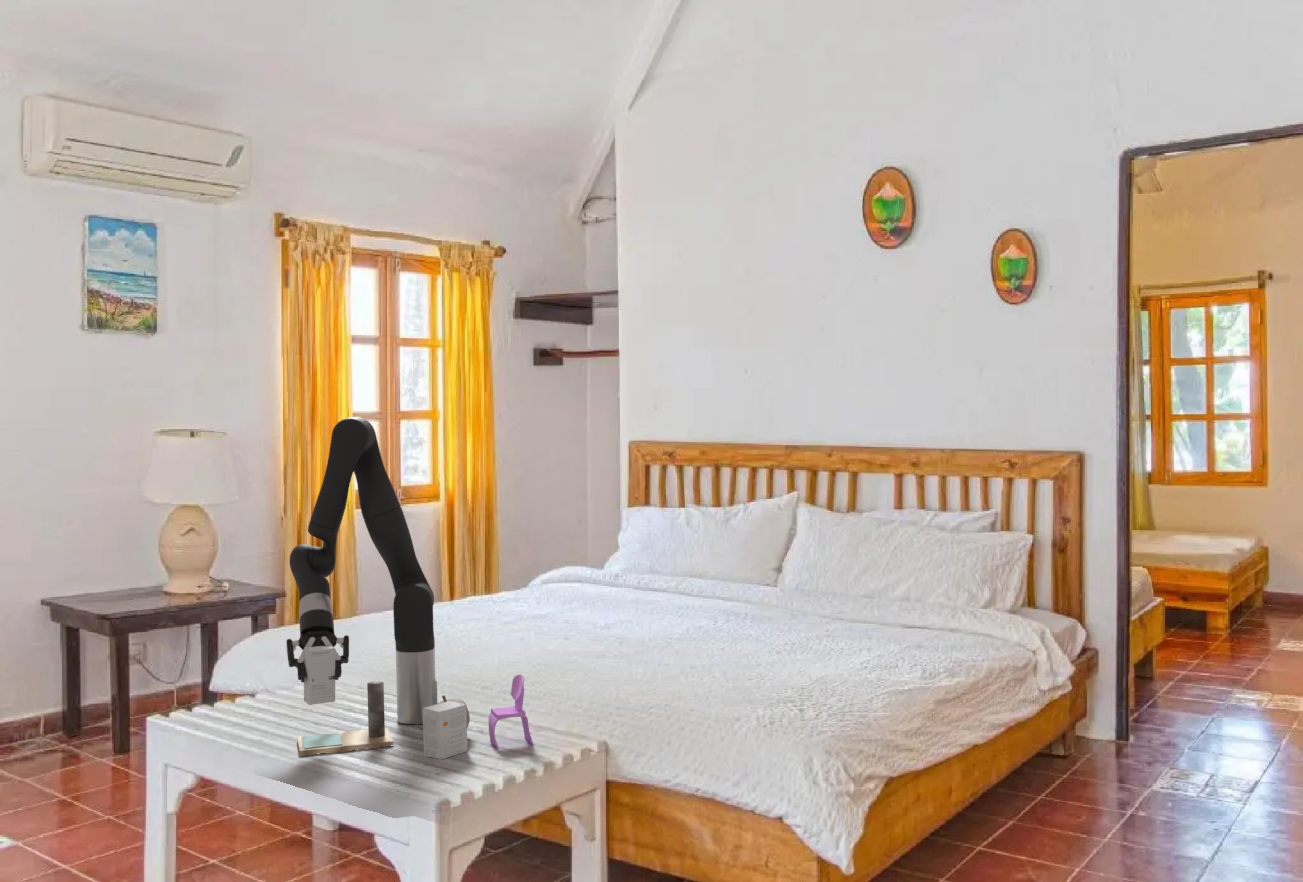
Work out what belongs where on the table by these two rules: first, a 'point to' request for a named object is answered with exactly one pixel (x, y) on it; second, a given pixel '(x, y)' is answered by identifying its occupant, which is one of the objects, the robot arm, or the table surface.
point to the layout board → (354, 739)
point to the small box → (444, 729)
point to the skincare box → (319, 674)
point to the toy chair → (511, 710)
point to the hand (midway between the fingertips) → (320, 679)
